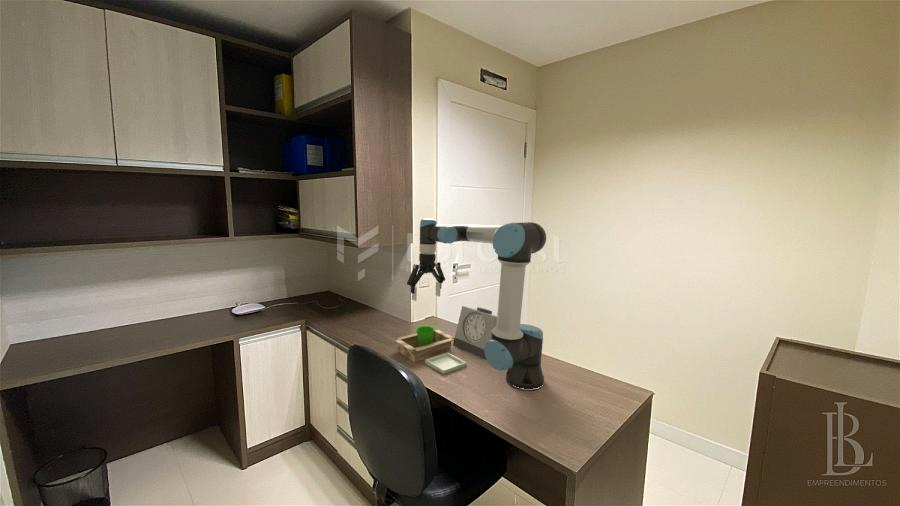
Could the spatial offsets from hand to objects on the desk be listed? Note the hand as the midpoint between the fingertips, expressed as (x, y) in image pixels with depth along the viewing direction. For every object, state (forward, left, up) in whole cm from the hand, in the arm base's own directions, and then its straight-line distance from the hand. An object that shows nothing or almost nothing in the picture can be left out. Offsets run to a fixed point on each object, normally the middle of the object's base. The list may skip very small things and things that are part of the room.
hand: (426, 297), depth 170 cm
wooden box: (0, 0, -26) cm, 26 cm away
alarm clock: (-12, -24, -26) cm, 38 cm away
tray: (-17, +1, -26) cm, 31 cm away
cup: (0, 0, -26) cm, 26 cm away
